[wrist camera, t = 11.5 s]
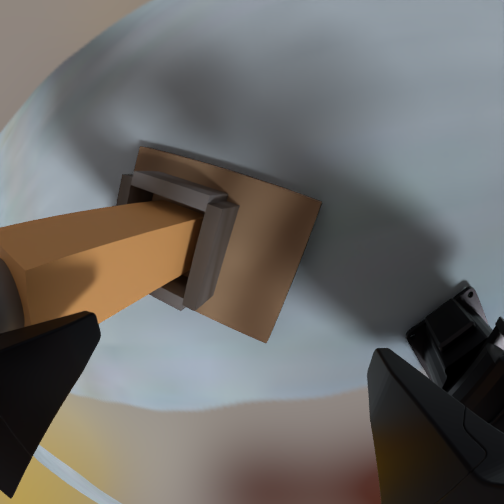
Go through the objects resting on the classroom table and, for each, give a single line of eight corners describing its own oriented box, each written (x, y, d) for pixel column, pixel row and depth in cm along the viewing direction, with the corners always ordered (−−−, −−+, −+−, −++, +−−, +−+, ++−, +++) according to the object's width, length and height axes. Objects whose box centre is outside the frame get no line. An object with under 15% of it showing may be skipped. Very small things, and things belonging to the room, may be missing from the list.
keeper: (322, 201, 18) (318, 205, 15) (270, 335, 22) (255, 365, 18) (148, 147, 21) (114, 143, 17) (125, 266, 25) (94, 279, 21)
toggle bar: (208, 216, 20) (-11, 283, 5) (195, 267, 21) (11, 376, 7) (162, 199, 21) (-41, 238, 6) (152, 247, 22) (-27, 321, 7)
